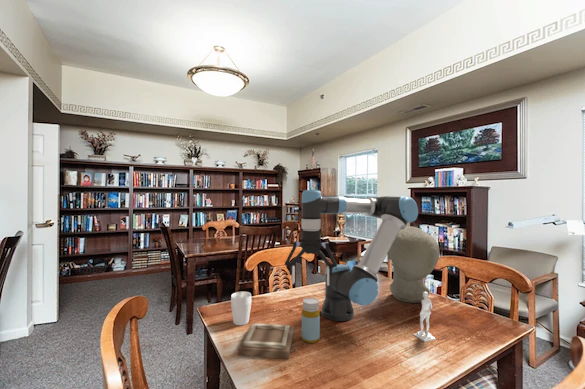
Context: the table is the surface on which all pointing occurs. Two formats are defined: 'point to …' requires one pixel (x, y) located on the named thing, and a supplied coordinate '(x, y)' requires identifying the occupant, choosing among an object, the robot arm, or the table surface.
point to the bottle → (310, 320)
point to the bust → (412, 263)
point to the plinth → (267, 341)
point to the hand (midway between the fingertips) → (310, 283)
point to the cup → (241, 307)
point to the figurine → (425, 315)
